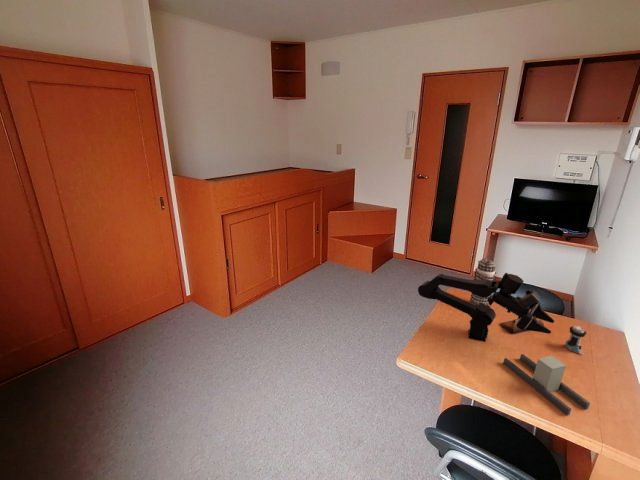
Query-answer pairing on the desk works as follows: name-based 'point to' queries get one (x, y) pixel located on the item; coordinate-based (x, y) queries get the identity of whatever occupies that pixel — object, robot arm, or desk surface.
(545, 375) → the block
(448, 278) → the robot arm
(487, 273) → the decorative candle
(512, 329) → the sunglasses case
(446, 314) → the desk surface
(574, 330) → the push button
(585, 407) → the steel chute
